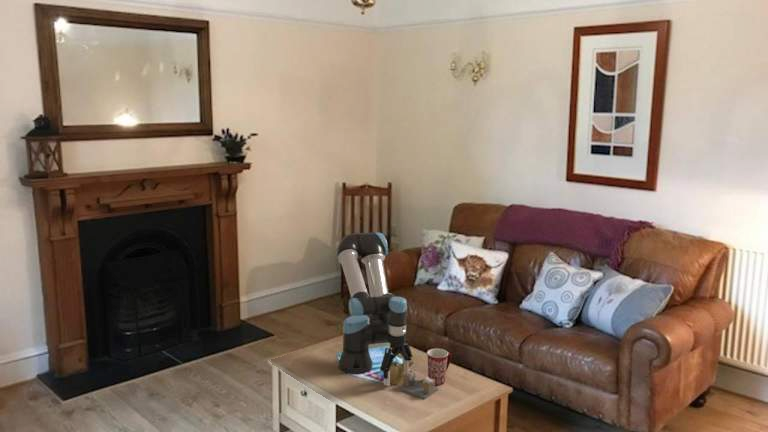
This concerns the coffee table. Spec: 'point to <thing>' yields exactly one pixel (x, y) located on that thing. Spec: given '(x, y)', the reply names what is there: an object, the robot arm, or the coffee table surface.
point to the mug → (438, 365)
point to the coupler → (396, 373)
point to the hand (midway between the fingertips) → (396, 379)
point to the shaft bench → (418, 385)
